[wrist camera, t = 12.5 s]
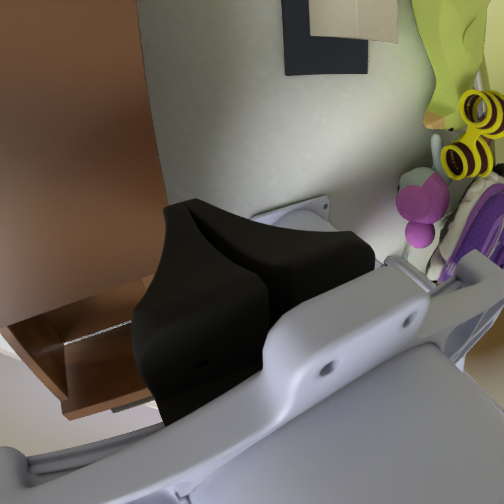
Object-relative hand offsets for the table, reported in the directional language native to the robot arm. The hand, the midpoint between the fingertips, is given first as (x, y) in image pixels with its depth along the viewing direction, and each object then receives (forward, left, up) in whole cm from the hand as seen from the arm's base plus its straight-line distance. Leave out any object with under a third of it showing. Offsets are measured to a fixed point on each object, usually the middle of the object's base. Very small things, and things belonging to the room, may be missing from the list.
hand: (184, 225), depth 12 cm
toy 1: (+18, -24, -7) cm, 31 cm away
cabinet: (+5, +6, -10) cm, 13 cm away
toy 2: (-3, -35, -8) cm, 36 cm away
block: (+9, -15, -10) cm, 20 cm away
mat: (+9, -15, -10) cm, 20 cm away
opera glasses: (0, -28, -6) cm, 29 cm away
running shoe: (-15, -40, -4) cm, 43 cm away
